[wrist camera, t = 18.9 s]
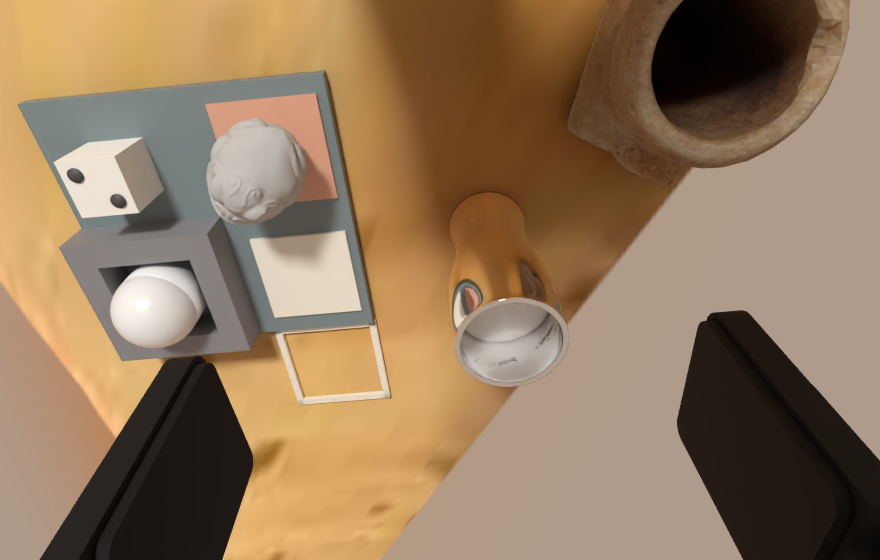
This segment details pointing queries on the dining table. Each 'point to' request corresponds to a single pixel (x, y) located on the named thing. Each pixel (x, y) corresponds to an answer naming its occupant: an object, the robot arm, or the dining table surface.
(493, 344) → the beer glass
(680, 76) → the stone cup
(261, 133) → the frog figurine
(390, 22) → the dining table surface
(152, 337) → the dome button
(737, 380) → the robot arm
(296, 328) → the game board
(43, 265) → the dining table surface
